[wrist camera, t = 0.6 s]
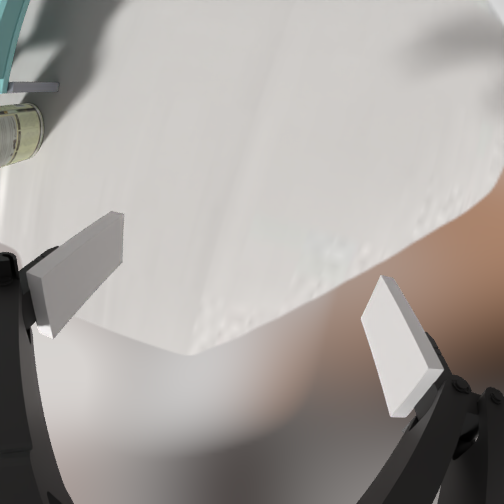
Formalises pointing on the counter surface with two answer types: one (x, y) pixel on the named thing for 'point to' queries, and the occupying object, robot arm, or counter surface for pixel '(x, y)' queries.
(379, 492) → the robot arm
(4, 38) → the lid
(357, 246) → the counter surface
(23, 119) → the coffee can
